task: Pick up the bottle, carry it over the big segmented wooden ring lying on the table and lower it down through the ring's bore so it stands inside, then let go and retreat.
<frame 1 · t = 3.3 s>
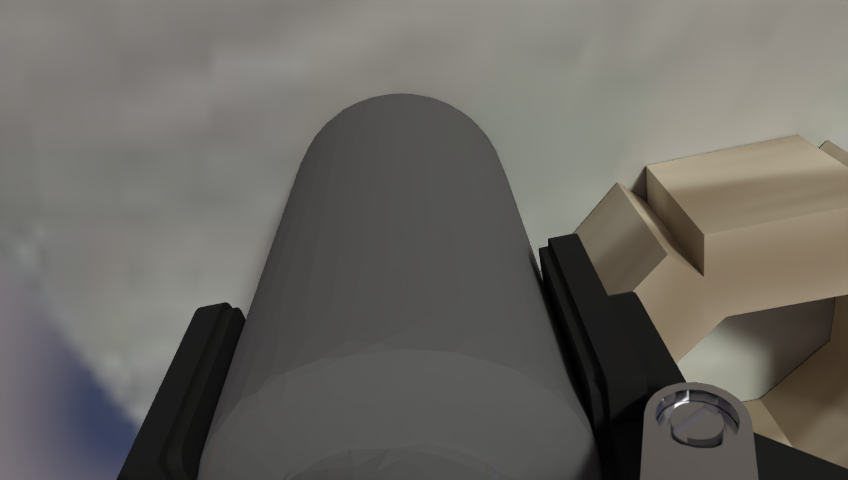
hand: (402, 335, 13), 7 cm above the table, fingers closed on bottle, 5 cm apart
bottle: (402, 188, 18), on the table, touching gripper
segmented wooden ring: (717, 324, 21), on the table
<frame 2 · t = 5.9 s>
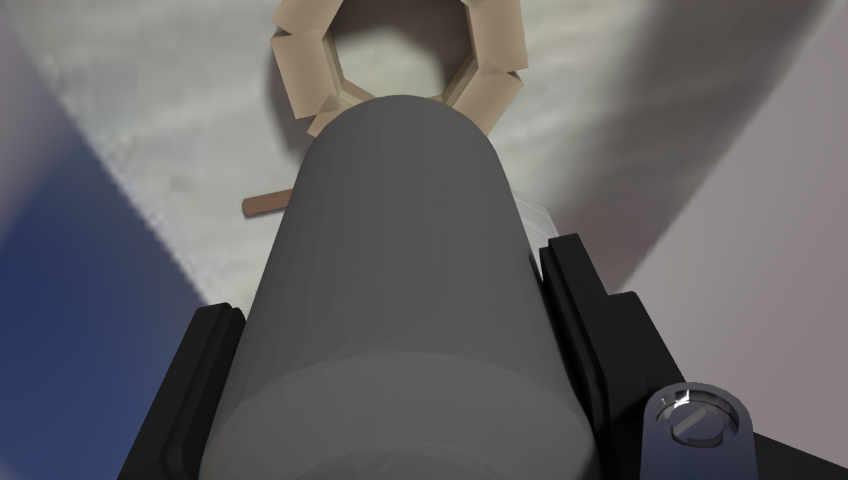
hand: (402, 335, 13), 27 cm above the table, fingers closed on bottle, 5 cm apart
bottle: (402, 189, 18), point 20 cm above the table, touching gripper
small box: (479, 231, 43), on the table
brown wooden stick: (321, 188, 40), on the table
segmented wooden ring: (401, 37, 36), on the table
when the fingers open (8 cm above the table, at t = 8.9 s): bottle drops 1 cm, resting in segmented wooden ring.
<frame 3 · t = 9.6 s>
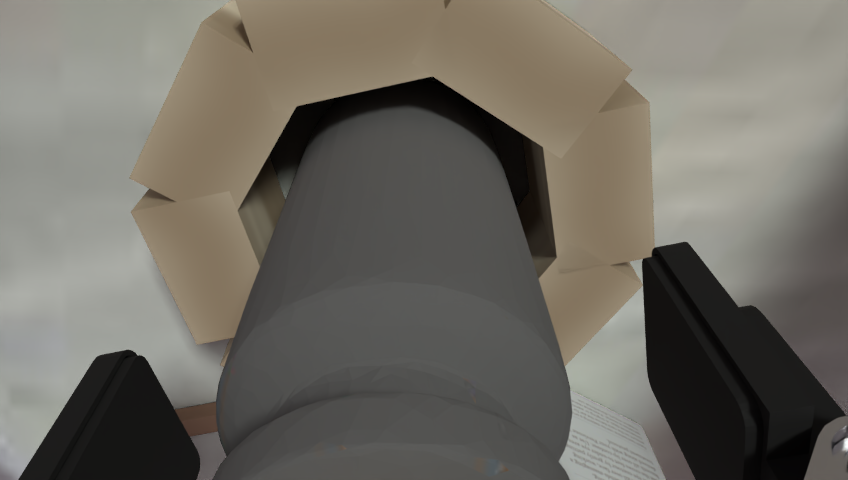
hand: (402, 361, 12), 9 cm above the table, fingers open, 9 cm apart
bottle: (402, 167, 20), resting in segmented wooden ring
small box: (527, 453, 26), on the table
brown wooden stick: (267, 400, 24), on the table
segmented wooden ring: (401, 170, 20), on the table
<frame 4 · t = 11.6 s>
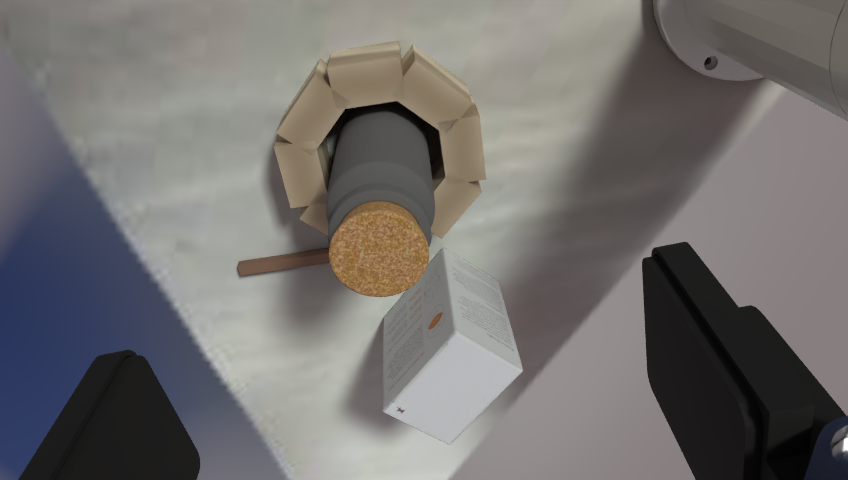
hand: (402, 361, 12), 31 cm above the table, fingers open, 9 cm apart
bottle: (383, 138, 43), resting in segmented wooden ring
small box: (440, 297, 50), on the table
brown wooden stick: (307, 256, 47), on the table
segmented wooden ring: (382, 140, 43), on the table
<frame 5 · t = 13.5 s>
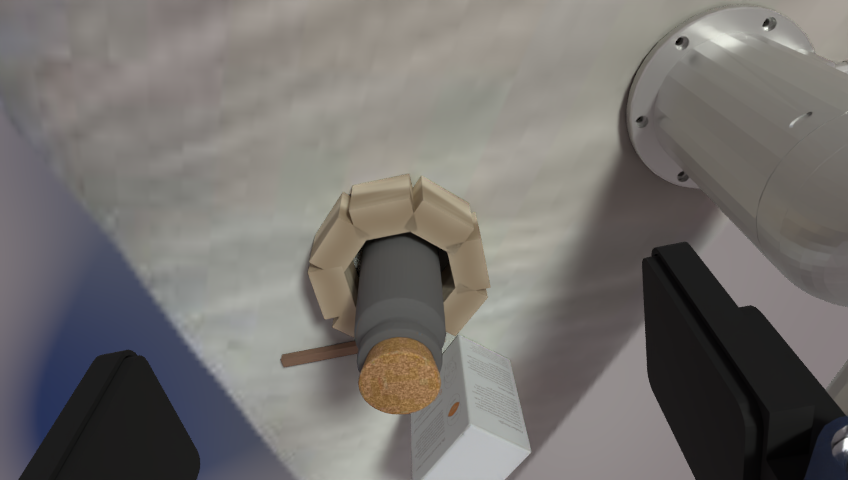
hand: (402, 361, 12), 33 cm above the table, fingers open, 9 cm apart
bottle: (400, 250, 50), resting in segmented wooden ring
small box: (459, 374, 56), on the table
brown wooden stick: (340, 347, 54), on the table
segmented wooden ring: (400, 251, 49), on the table
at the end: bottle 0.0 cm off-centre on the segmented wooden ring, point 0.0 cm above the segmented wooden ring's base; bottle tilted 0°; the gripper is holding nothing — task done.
